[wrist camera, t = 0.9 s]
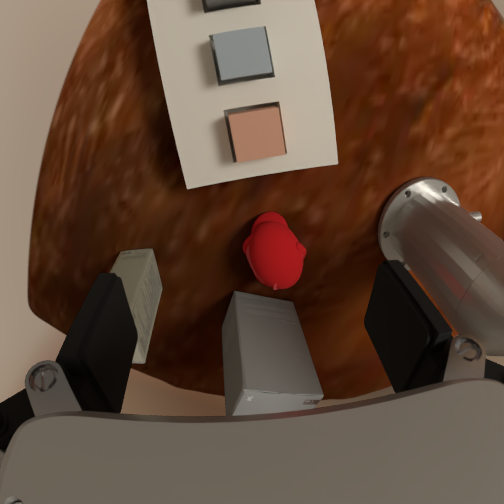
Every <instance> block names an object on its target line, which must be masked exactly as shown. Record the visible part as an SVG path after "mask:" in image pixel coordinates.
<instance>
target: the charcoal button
mask: <svg viewBox="0 0 504 504" xmlns="http://www.w3.org/2000/svg"><path fill="white" fill-rule="evenodd" d="M255 2H256V0H206V3H207V6H208V9H209V11H213V10H218V9H224V8H230V7H236V6H243V5H250V4H255Z"/></svg>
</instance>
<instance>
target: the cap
mask: <svg viewBox="0 0 504 504" xmlns="http://www.w3.org/2000/svg"><path fill="white" fill-rule="evenodd" d="M243 251H244V253H245V254H246V256H247V259H248V262H249V264H250V266H251V268H252V270H253V272H254V275H255V277H256V278H257V280H258V281H260V282H261V283H262V284H264V285H266V286H269V287H273V290H277V289H286V288H289V287H291V286H293V285H294V284H295V283H296V282H297V281H298V279H299V278H300V275H301V273H302V269H303V259H304V257H305V255H306V249H305V247H304V246H303V245H302V244H300V243H299V242H298V240H297V238H296V237H295V235H294V234H293V233H292V231H291V230H290V229H289V228H288V225H287V223H286V221H285V219H284V218H283V217H282V216H281V215H280V214H278V213H276V212H265V213H263V214H261V215H260V216H259V217H258V218H257V219H256V220H255V222H254V224H253V227H252V230H251V235H250V236H249V237H248V238H247V239H246V240H245V241H244V243H243Z"/></svg>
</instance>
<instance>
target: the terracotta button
mask: <svg viewBox="0 0 504 504" xmlns="http://www.w3.org/2000/svg"><path fill="white" fill-rule="evenodd" d="M228 117H229V122H230V127H231V133H232V138H233V143H234V148H235V153H236V159H237V163H239V162H244V161H250V160H256V159H262V158H268V157H274V156H281V155H286V154H285V147H284V140H283V133H282V127H281V120H280V114H279V108H278V107H276V106H269V107H262V108H255V109H249V110H243V111H238V112H232V113H229V115H228Z"/></svg>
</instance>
